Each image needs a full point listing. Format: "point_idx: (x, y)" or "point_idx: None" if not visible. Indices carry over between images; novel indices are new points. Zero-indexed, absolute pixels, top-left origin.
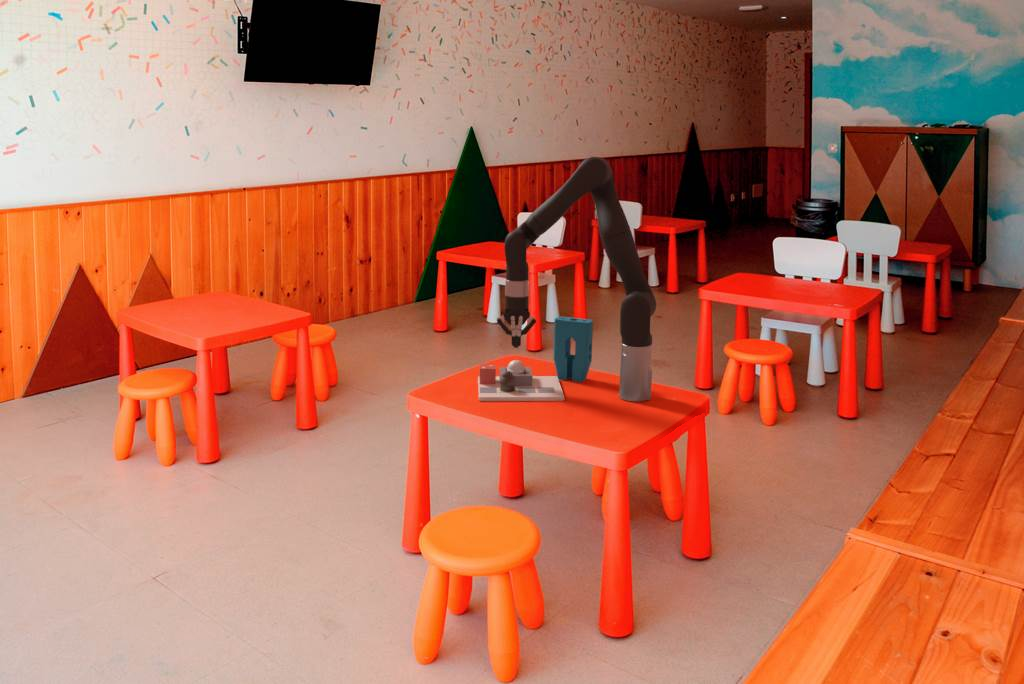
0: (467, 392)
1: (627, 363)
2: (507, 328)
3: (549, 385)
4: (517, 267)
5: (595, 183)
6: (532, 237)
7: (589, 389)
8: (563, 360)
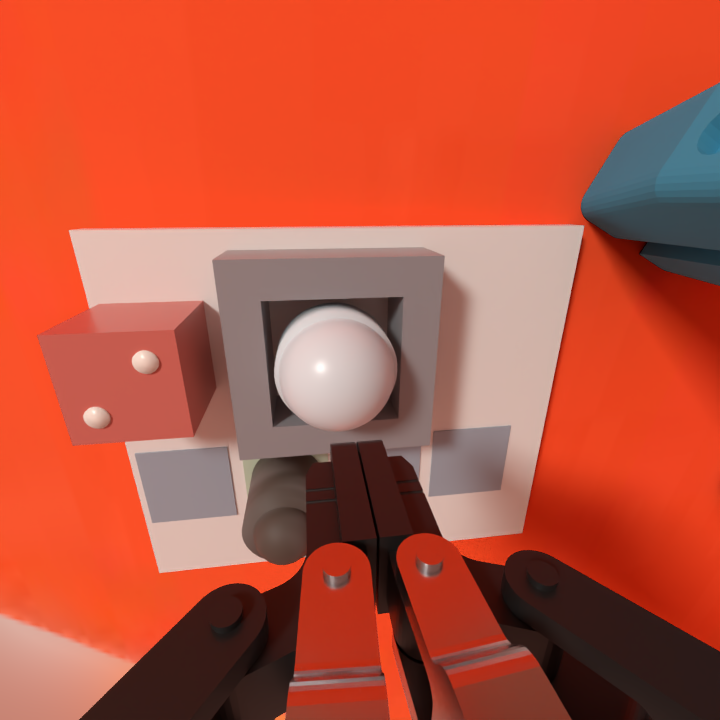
0: (80, 458)
1: None
2: (209, 702)
3: (499, 397)
4: None
5: None
6: None
7: (661, 382)
8: (706, 239)
